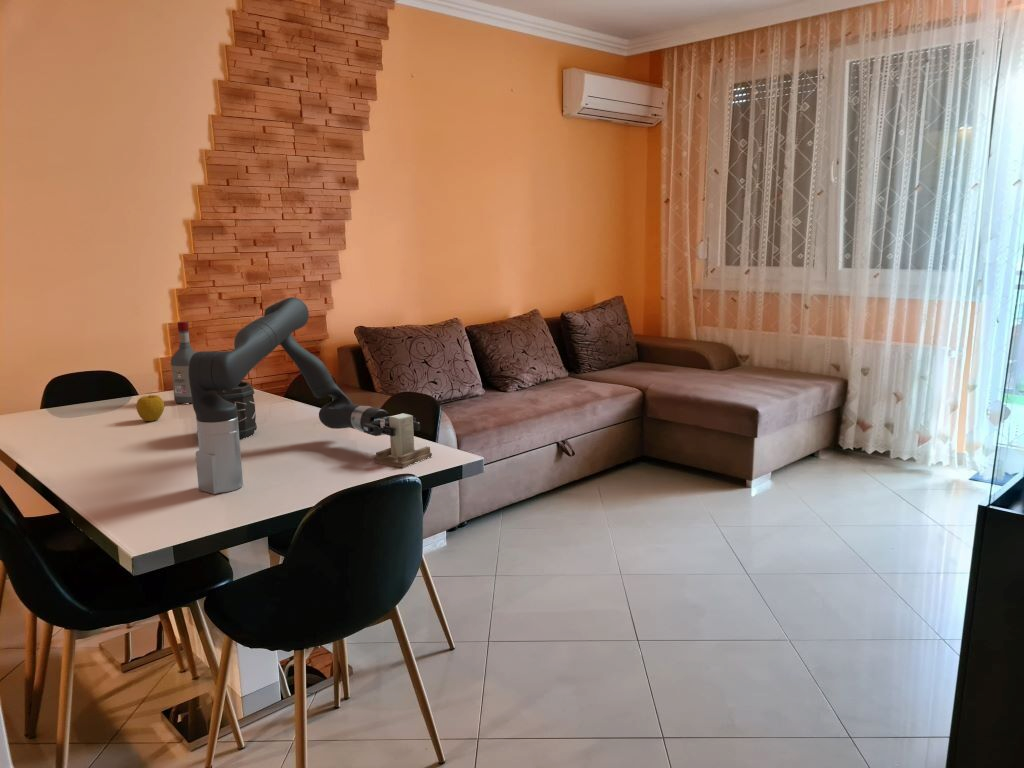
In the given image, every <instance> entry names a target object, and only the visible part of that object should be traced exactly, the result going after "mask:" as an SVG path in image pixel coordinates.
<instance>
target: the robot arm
mask: <svg viewBox="0 0 1024 768" xmlns="http://www.w3.org/2000/svg"><path fill="white" fill-rule="evenodd" d="M308 308H309V307H307V305H306V303H305V302H304V301H303V300H302V299H300V298H297V297H287V298H285V299H282V300H280V301H278V302H276V303H274V304H272V305H269V306H267V307H265V310H264V315H263V316H261V317H259V318H257V319H255V320H253V321H252V322H250V323H248V324H247V325H245V326H244V327H242V328H241V329H240V330H239V331H238V332H237V333H236V335H235V337H234V341H233V345H234V349H231V350H227V351H222V350H221V351H217V350H215V351H211V350H210V351H209V350H208V351H205V350H202V351H195V352H196V353H194V354H193V355H192V357H191V359H190V362H189V368H188V374H189V383H190V389H191V396H192V404H191V405H192V408H193V410H194V413H195V420H196V428H197V429H196V430H197V431H198V433H197V441H198V451H196V452H195V462H196V463H195V464H196V474H197V475H196V476H197V484H198V486H197V487H198V491H202V492H205V493H209V494H212V495H217V494H220V493H226V492H227V493H229V492H233V491H236V490H239V489H241V488H242V487H243V486H244V480H243V468H242V467H243V466H242V465H243V464H242V454H241V453H242V452H241V442H240V441H241V439H239V426H238V412H237V407H236V405H235V404H233V403H231V402H228V401H226V400H224V399H223V398H221V397H220V396H219V395H218V394H217V393H216V391H226V390H231V389H233V388H235V387H236V386H238V385H239V384H240V383H241V381H243V380H244V379H245V378H246V377H247V376H248V374H249V373H250V372H251V370H252V369H253V368H254V367H256V366H257V365H258V364H259V363H260V362H261V361H262V360H263V359H265V358H266V357H267V356H269V355H270V354H271V353H272V352H273V351H275V349H276V348H277V347H279V345H280V346H281V347H282V349H283V350H284V351H285V352H286V353H287V356H289V358H290V359H291V360H292V362H293V363H294V364H295V365H296V367H297V368H298V370H299V371H300V373H301V374H302V376H303V378H304V380H305V382H306V384H307V385H308V387H309V389H310V391H311V392H312V394H313V396H314V397H315V398H317V399H321V398H325V397H327V396H329V397H330V398H332V400H331V401H329V402H328V403H326V404H324V405H323V406H322V407H320V409H319V412H318V419H319V421H320V422H321V424H323V426H325V427H327V428H329V429H333V430H337V429H338V430H339V429H347V428H348V429H349V428H350V429H354V430H357V431H359V432H361V433H365V434H367V435H370V436H374V437H378V436H385V435H386V436H389V437H390V436H395V435H396V434H395V428H392V427H390V423H389V417H390V416H391V415H390V414H389V412H388V411H387V410H385V409H383V408H378V407H373V406H369V405H360V404H357V403H353V402H352V400H351V399H350V398H349V397H348V395H346V394H345V393H344V392H343V391H342V390H341V388H340V387H339V385H338V384H337V383H336V382H335V381H334V379H333V377H332V375H331V373H330V371H329V370H328V367H327V366H326V364H325V363H324V362H323V361H322V360H321V359H320V358H319V357H317V356H316V355H314V354H313V353H312V352H309V351H308V350H307V349H306V348H304V347H303V346H301V344H299V343H298V341H297V340H296V339H295V337H294V336H293V334H292V333H294V332H295V331H297V330H299V329H301V328H303V327H305V326H306V325H307V324H308V320H309V317H310V314H309V313H310V312H309V309H308ZM416 420H417V418H416V417H414V416H413V431H417V432H418V431H420V430H421V423H420V422H419V421H416ZM197 431H196V432H197Z"/></svg>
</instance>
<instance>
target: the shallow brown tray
mask: <svg viewBox="0 0 1024 768" xmlns="http://www.w3.org/2000/svg"><path fill="white" fill-rule="evenodd" d="M431 456H432V457H433V453H432V452H431V447H430V446H424V447H421V448H419V449H414V451H413V452H410V453H407V454H404V455H402V456H399V457H395V456H391V447H389V448H385V449H383V450H379V451H377V452H375V457H374V463H376V464H380V463H381V465H385V464H386V465H385V466H390V465H391V467H395V466H397V467H396V468H400V467H405V466H407V467H409V466H408V465H410V464H413V463H415V462H418V461H420V462H422V461H421V460H423V459H426V458H428V457H431ZM432 457H431V458H432ZM428 459H429V458H428ZM426 460H427V459H426ZM423 461H424V460H423ZM418 463H419V462H418ZM415 464H416V463H415ZM413 465H414V464H413ZM410 466H411V465H410ZM405 468H406V467H405Z"/></svg>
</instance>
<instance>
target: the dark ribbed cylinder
mask: <svg viewBox="0 0 1024 768" xmlns="http://www.w3.org/2000/svg"><path fill="white" fill-rule="evenodd" d="M251 385H252V384H251V382H248V381H243V380H242V381H241V383H240V384H239V385H238V386H236V387H235V388H233V389H231V390H226V391H216V393H217V394H218V395H219V396H220V397H221V398H223V399H224V400H226V401H228V402H231V403H233V404H235V405H236V407H237V412H238V426H239V439H240V440H244V439H243V438H245V439H247V438H249V436H250V437H252V436H254V435H255V431H257V428H258V426H257V422H256V417H257V416H256V413H257V412H256V403H255V399H254V394H255V390H254V387H253V386H251ZM196 434H198V431H196ZM253 434H254V435H253ZM251 435H252V436H251ZM246 437H247V438H246Z"/></svg>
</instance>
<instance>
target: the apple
mask: <svg viewBox="0 0 1024 768" xmlns="http://www.w3.org/2000/svg"><path fill="white" fill-rule="evenodd" d="M135 407H136V408H135V409H136V413H137V414H138V415H139V417H140V418H141V419H142V421H143V422H146V421H149V422H153V421H154V420H155V421H158V420H159V419H160V418H161V416H162V414H163V413H164V410H165V402H164V400H163V399H162V397H161V396H159V395H155V394H153V395H152V394H151V395H150V394H148V395H144V396H141V397H139V398H138V400H137V402H136V406H135ZM155 421H154V422H155Z"/></svg>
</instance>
